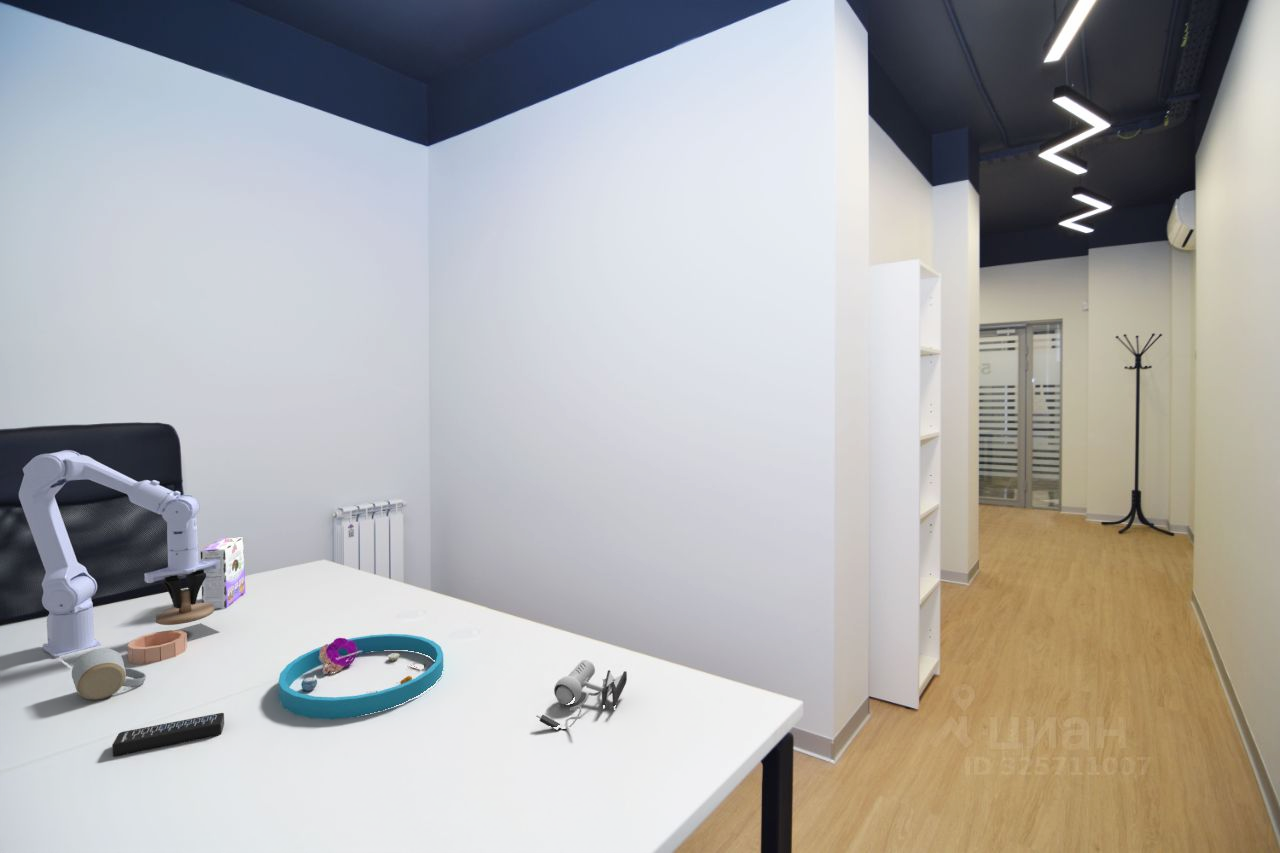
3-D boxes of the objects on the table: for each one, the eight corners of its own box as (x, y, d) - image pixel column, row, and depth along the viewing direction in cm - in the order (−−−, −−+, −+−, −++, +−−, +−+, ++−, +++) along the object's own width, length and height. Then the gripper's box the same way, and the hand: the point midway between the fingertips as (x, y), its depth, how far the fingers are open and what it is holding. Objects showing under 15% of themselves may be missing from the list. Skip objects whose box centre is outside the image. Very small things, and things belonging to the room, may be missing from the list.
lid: (147, 618, 146) (145, 593, 145) (201, 603, 155) (199, 580, 154) (168, 628, 140) (166, 602, 139) (222, 612, 149) (220, 588, 148)
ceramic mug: (77, 708, 114) (75, 666, 114) (71, 693, 120) (70, 653, 120) (149, 689, 122) (149, 650, 122) (141, 675, 128) (141, 638, 127)
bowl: (121, 657, 136) (120, 641, 135) (175, 642, 144) (174, 627, 144) (139, 669, 130) (139, 652, 130) (194, 652, 139) (194, 636, 138)
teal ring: (381, 640, 147) (381, 616, 146) (474, 671, 131) (474, 643, 131) (246, 694, 121) (245, 664, 121) (342, 739, 106) (341, 705, 105)
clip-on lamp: (584, 756, 105) (632, 688, 121) (583, 725, 104) (631, 660, 119) (526, 733, 110) (579, 671, 126) (524, 703, 108) (578, 644, 124)
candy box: (222, 595, 177) (220, 537, 176) (246, 593, 178) (244, 536, 177) (201, 612, 163) (198, 549, 162) (226, 610, 165) (224, 548, 164)
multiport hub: (221, 737, 106) (220, 723, 106) (112, 759, 99) (111, 745, 99) (224, 724, 110) (224, 711, 110) (119, 745, 103) (119, 731, 103)
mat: (152, 638, 146) (152, 636, 146) (200, 624, 155) (200, 623, 154) (170, 648, 141) (170, 646, 141) (219, 633, 149) (219, 632, 149)
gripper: (152, 557, 138) (154, 618, 139) (225, 544, 150) (226, 600, 151) (139, 552, 142) (142, 611, 143) (211, 540, 154) (213, 594, 155)
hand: (184, 605), depth 147 cm, fingers closed on lid, 2 cm apart
